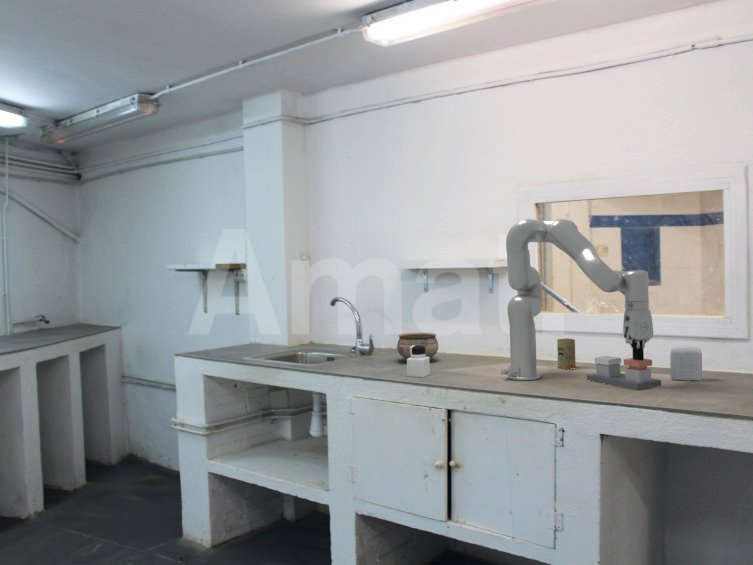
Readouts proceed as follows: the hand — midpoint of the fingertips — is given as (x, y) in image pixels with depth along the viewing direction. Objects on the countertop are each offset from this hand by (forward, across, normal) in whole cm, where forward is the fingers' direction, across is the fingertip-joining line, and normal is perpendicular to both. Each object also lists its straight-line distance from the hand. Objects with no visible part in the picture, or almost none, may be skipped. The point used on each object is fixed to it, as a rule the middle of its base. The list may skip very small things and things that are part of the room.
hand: (638, 359), depth 215 cm
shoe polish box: (+9, +7, +41) cm, 42 cm away
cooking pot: (+9, -30, +96) cm, 101 cm away
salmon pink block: (+6, 0, 0) cm, 6 cm away
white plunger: (+7, 0, +13) cm, 15 cm away
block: (+9, 0, +7) cm, 11 cm away
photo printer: (+10, +22, -2) cm, 24 cm away
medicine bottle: (+9, -49, +65) cm, 82 cm away
